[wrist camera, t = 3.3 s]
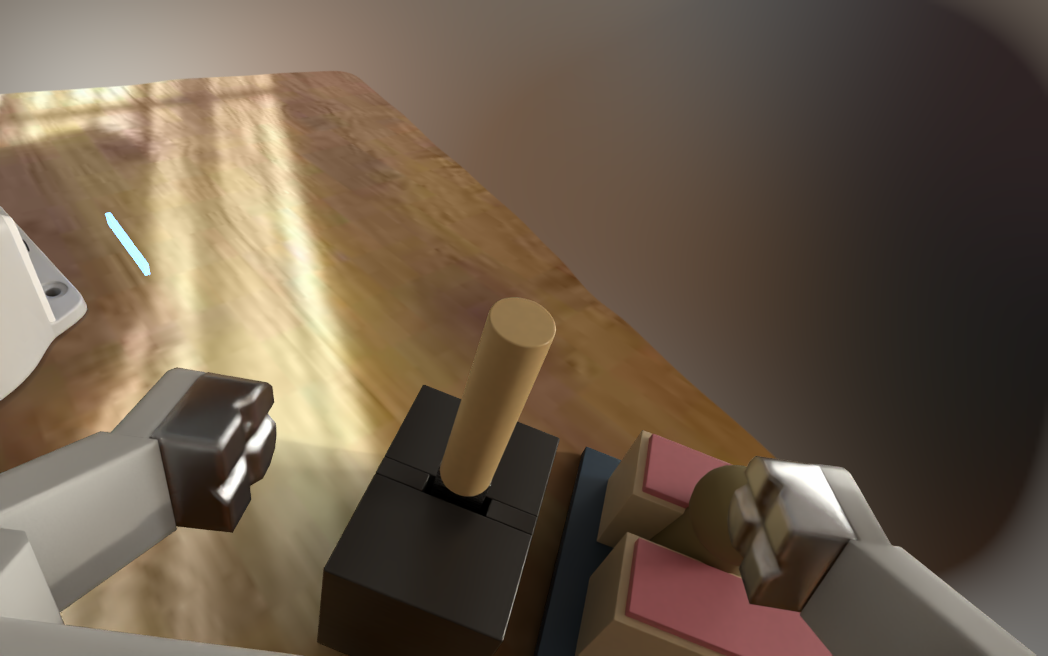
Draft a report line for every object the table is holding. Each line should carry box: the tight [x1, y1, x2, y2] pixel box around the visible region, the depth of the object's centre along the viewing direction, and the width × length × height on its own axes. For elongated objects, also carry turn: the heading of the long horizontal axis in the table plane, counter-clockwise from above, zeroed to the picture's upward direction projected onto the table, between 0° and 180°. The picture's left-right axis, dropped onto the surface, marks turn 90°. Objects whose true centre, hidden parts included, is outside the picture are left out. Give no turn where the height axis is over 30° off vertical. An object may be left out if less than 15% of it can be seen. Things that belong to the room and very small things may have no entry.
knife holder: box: [317, 385, 559, 656], centre depth 32 cm, size 8×11×9 cm
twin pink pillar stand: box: [534, 430, 833, 656], centre depth 35 cm, size 16×16×8 cm
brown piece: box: [649, 465, 748, 576], centre depth 35 cm, size 6×6×11 cm
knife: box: [430, 297, 556, 514], centre depth 28 cm, size 2×2×21 cm
